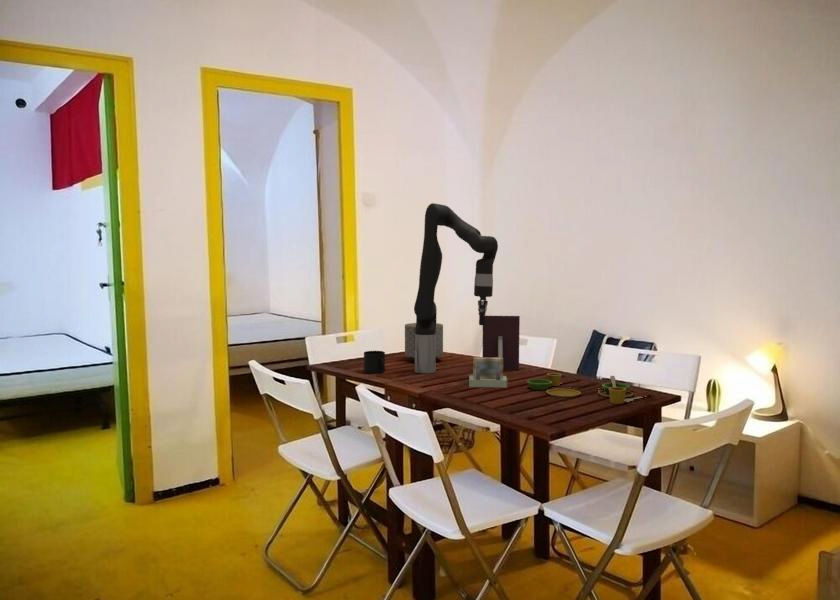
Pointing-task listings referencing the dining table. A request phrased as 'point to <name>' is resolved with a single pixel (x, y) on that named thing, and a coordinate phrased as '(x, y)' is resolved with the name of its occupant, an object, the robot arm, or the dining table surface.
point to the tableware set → (553, 379)
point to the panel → (487, 367)
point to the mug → (374, 362)
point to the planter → (411, 340)
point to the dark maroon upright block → (502, 339)
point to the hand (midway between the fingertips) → (481, 324)
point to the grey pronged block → (488, 381)
